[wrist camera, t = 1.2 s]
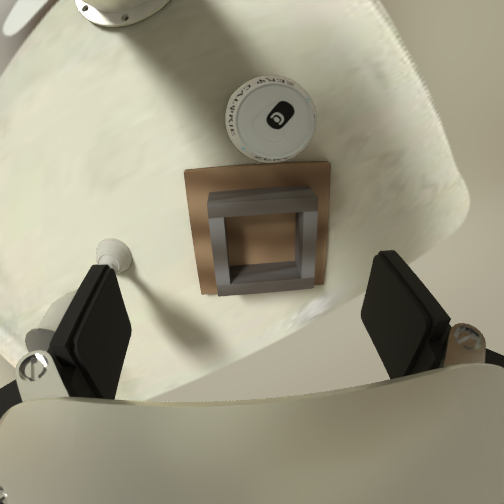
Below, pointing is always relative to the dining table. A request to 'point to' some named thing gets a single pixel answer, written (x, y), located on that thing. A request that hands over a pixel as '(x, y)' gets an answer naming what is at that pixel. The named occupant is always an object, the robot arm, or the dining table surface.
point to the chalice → (107, 253)
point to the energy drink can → (270, 119)
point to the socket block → (259, 226)
